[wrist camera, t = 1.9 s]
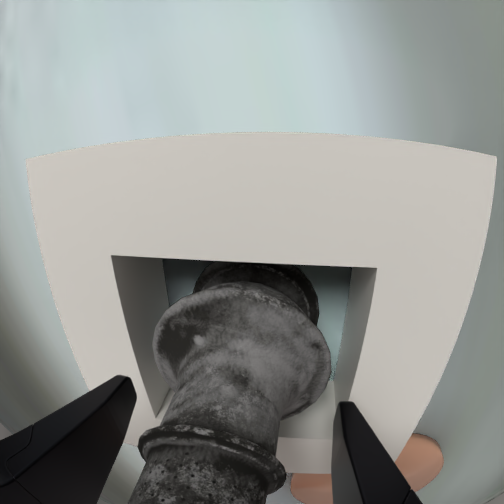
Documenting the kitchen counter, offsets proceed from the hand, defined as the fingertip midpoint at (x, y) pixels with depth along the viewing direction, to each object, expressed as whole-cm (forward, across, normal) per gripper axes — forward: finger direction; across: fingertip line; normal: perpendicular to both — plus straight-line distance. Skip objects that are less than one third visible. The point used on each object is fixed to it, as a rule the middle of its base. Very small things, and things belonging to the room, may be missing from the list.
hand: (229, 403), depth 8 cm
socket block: (+5, 0, 0) cm, 5 cm away
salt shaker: (+5, 0, 0) cm, 5 cm away
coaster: (+5, -8, +14) cm, 17 cm away
